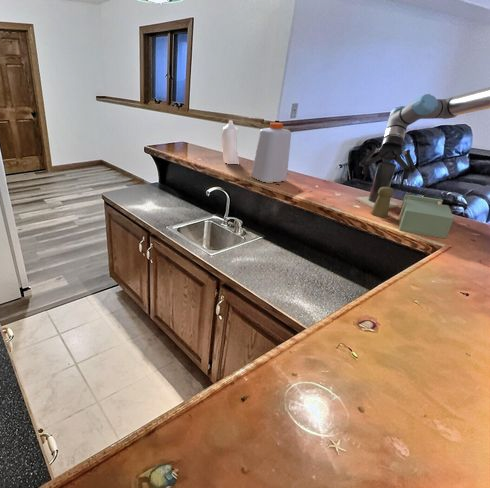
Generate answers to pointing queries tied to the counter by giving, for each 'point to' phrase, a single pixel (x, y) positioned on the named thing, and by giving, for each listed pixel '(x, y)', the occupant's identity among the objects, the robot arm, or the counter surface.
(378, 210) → the olive pawn shaped piece
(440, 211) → the green beveled box
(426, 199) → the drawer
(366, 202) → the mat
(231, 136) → the pale pink bottle
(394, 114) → the robot arm
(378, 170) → the dark brown rectangular block
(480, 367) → the counter surface
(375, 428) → the counter surface
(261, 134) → the plastic bottle
